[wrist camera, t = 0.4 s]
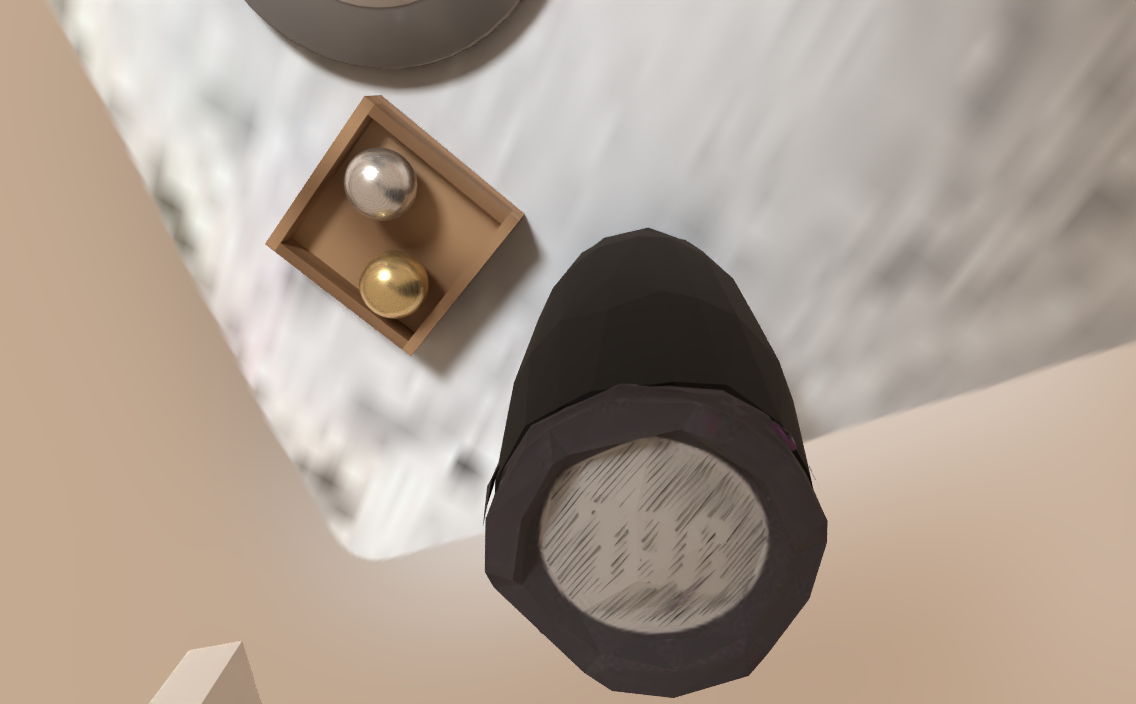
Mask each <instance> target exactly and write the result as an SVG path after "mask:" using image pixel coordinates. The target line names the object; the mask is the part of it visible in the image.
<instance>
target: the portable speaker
mask: <svg viewBox="0 0 1136 704" xmlns="http://www.w3.org/2000/svg"><path fill="white" fill-rule="evenodd" d="M495 479H496V480H495ZM494 482H495V495H494V498H493V501H492V503H491V506H490V509H489V512H488V514H487V517H486V528H485V573H486V575H487V576H488V578H489V580H490V582H491V583H492V585H493V587H494V588H495V589H496V590H497V591H498V592H499V593H500V594H501V595H502V596H504V597H505V598H506V599H507V600H508V601H509V602H510V603H511V604H512V605H513V606H514V607H515V608H517V610H518V611H519V612H521V613H522V614H523V615H524V616H525V617H526V618H527V619H528V620H529V621H530V622H531V623H532V624H533V625H534V626H535V627H536V628H538V630H539V631H540V632H541V633H542V634H544V635H545V636H546V637H547V638H548V639H549V640H550V641H551V642H552V643H553V644H554V645H555V646H556V647H558V648H559V649H560V650H561V651H562V652H563V653H564V654H565V655H566V656H567V657H568V658H569V659H570V660H571V661H572V662H573V663H574V664H575V665H577V666H578V667H579V668H580V669H581V670H582V671H583V672H584V673H586V674H587V675H589V676H590V677H592V678H593V679H595V680H596V681H598V682H599V683H601V684H602V685H604V686H606V687H607V688H609V689H610V690H612V691H618V692H626V693H635V694H643V695H652V696H661V697H670V698H675V697H678V696H682V695H685V694H689V693H692V692H695V691H699V690H702V689H705V688H709V687H712V686H716V685H719V684H722V683H726V682H729V681H733V680H736V679H739V678H743V677H746V676H749V675H750V674H751V672H752V671H753V670H754V669H755V668H756V667H757V666H758V664H759V663H760V662H761V661H762V660H763V659H764V657H765V656H766V655H767V654H768V653H769V651H770V650H771V649H772V647H773V646H774V645H775V643H776V642H777V641H778V639H779V638H780V637H781V635H782V634H783V633H784V631H785V630H786V629H787V628H788V626H789V625H790V624H791V622H792V621H793V619H794V618H795V617H796V616H797V614H798V613H799V611H800V610H801V609H802V608H803V606H804V605H805V604H806V602H807V601H808V600H809V598H810V595H811V591H812V588H813V585H814V582H815V579H816V575H817V572H818V569H819V566H820V563H821V560H822V556H823V553H824V550H825V547H826V543H827V519H826V517H825V515H824V512H823V510H822V508H821V506H820V503H819V501H818V499H817V497H816V495H815V492H814V490H813V486H812V481H811V477H810V472H809V467H808V463H807V459H806V454H805V450H804V446H803V441H802V437H801V433H800V428H799V424H798V420H797V415H796V411H795V407H794V402H793V399H792V396H791V394H790V391H789V388H788V385H787V382H786V380H785V377H784V374H783V371H782V368H781V365H780V363H779V360H778V358H777V357H776V355H775V353H774V351H773V349H772V347H771V346H770V344H769V342H768V340H767V338H766V336H765V335H764V333H763V331H762V329H761V327H760V325H759V324H758V322H757V320H756V318H755V316H754V315H753V313H752V311H751V309H750V307H749V306H748V304H747V302H746V300H745V299H744V297H743V295H742V293H741V292H740V290H739V288H738V286H737V285H736V283H735V281H734V279H733V278H732V277H731V276H730V275H728V274H727V273H726V272H725V271H724V270H723V269H722V268H721V267H719V266H718V265H717V264H716V263H715V262H714V261H713V260H712V259H710V258H709V257H708V256H707V255H706V254H705V253H704V252H703V251H701V250H700V249H698V248H697V247H695V246H694V245H692V244H691V243H689V242H688V241H686V240H682V239H678V238H676V237H673V236H670V235H667V234H664V233H662V232H659V231H656V230H653V229H650V228H645V229H641V230H636V231H632V232H628V233H623V234H619V235H615V236H611V237H606V238H604V239H602V240H601V241H600V242H598V243H597V244H596V245H594V246H593V247H591V248H589V249H588V250H586V251H584V252H582V253H581V255H580V256H579V257H578V258H577V260H576V261H575V262H574V263H573V264H572V266H571V267H570V268H569V269H568V270H567V272H566V273H565V274H564V275H563V277H562V278H561V279H560V280H559V281H558V283H557V284H556V285H555V286H554V288H553V289H552V291H551V293H550V295H549V298H548V300H547V302H546V304H545V306H544V308H543V311H542V313H541V315H540V317H539V320H538V322H537V325H536V327H535V330H534V332H533V335H532V338H531V340H530V343H529V345H528V348H527V351H526V353H525V356H524V358H523V361H522V363H521V366H520V369H519V371H518V374H517V376H516V379H515V381H514V386H513V391H512V396H511V401H510V406H509V411H508V416H507V421H506V426H505V432H504V437H503V442H502V448H501V453H500V458H499V463H498V465H497V467H496V469H495V472H494V474H493V476H492V479H491V480H490V482H489V484H488V486H487V494H486V503H485V512H484V519H485V514H486V509H487V505H488V501H489V498H490V495H491V492H492V489H493V486H494ZM483 524H484V521H483Z"/></svg>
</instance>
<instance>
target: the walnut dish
mask: <svg viewBox="0 0 1136 704" xmlns="http://www.w3.org/2000/svg"><path fill="white" fill-rule="evenodd" d="M370 148H387V149H391V150H393V151H396V152H397V153H399V154H401V155H402V156H403V157H405V158H406V159H407V160H408V162H409V163H410V164H411V166H412V167H413V169H414V171H415V174H416V177H417V184H418V189H417V195H416V198H415V200H414V203H413V204H412V206H411V207H410V208H409V210H408V211H407V212H405V213H404V214H403V215H401V216H400V217H398V218H395V219H392V220H387V221H379V220H373V219H370V218H367V217H365V216H364V215H362V214H360V213H359V212H358V211H357V210H356V209H355V208H354V207H353V206H352V205H351V203H350V202H349V200H348V198H347V196H346V193H345V189H344V176H345V172H346V169H347V167H348V165H349V163H350V162H351V161H352V159H353V158H354V157H355V156H356V155H358V154H359V153H361V152H363V151H365V150H367V149H370ZM523 215H524V213H523V212H522V211H520V210H519V209H518V208H517V207H515V206H514V205H513V204H512V203H511V202H509V201H508V200H507V199H506V198H505V197H503V196H502V195H501V194H500V193H499V192H497V191H496V190H495V189H494V188H493V187H491V186H490V185H489V184H488V183H487V182H485V181H484V180H483V179H482V178H481V177H479V176H478V175H477V174H476V173H475V172H473V171H472V170H471V169H470V168H468V167H467V166H466V165H465V164H464V163H462V162H461V161H460V160H459V159H458V158H456V157H455V156H454V155H453V154H452V153H450V152H449V151H448V150H447V149H446V148H444V147H443V146H442V145H441V144H440V143H438V142H437V141H436V140H435V139H434V138H432V137H431V136H430V135H429V134H427V133H426V132H425V131H424V130H423V129H421V128H420V127H419V126H418V125H417V124H415V123H414V122H413V121H412V120H411V119H409V118H408V117H407V116H406V115H405V114H403V113H402V112H401V111H400V110H399V109H397V108H396V107H395V106H394V105H393V104H391V103H390V102H389V101H388V100H386V99H385V98H384V97H383V96H382V95H376V96H364V98H363V99H362V101H361V102H360V104H359V105H358V107H357V108H356V109H355V111H354V112H353V114H352V115H351V117H350V118H349V120H348V121H347V123H346V124H345V126H344V127H343V129H342V130H341V132H340V133H339V135H338V136H337V138H336V139H335V141H334V142H333V144H332V145H331V147H330V148H329V150H328V151H327V153H326V154H325V156H324V157H323V159H322V160H321V162H320V163H319V165H318V166H317V168H316V169H315V170H314V172H313V173H312V175H311V176H310V178H309V179H308V181H307V182H306V184H305V185H304V187H303V188H302V190H301V191H300V193H299V194H298V196H297V197H296V199H295V200H294V202H293V203H292V205H291V206H290V208H289V209H288V211H287V212H286V214H285V215H284V217H283V218H282V220H281V221H280V223H279V224H278V226H277V227H276V229H275V230H274V232H273V233H272V234H271V236H270V237H269V239H268V240H267V242H266V243H265V244H266V245H267V246H268V247H269V248H271V249H272V250H273V251H275V252H276V253H277V254H279V255H280V256H281V257H283V258H284V259H285V260H286V261H288V262H289V263H290V264H292V265H293V266H294V267H296V268H297V269H298V270H299V271H301V272H302V273H303V274H305V275H306V276H307V277H309V278H310V279H311V280H313V281H314V282H315V283H316V284H318V285H319V286H320V287H322V288H323V289H324V290H326V291H327V292H328V293H329V294H331V295H332V296H333V297H335V298H336V299H337V300H339V301H340V302H341V303H343V304H344V305H345V306H346V307H348V308H349V309H350V310H352V311H353V312H354V313H356V314H357V315H358V316H359V317H361V318H362V319H363V320H365V321H366V322H367V323H369V324H370V325H371V326H373V327H374V328H375V329H376V330H378V331H379V332H380V333H382V334H383V335H384V336H386V337H387V338H388V339H389V340H391V341H392V342H393V343H395V344H396V345H397V346H399V347H400V348H401V349H403V350H404V351H405V352H406V353H408V354H409V355H410V356H411V355H412V354H413V353H414V351H415V350H416V349H417V348H418V346H419V345H420V344H421V343H422V341H423V340H424V339H425V338H426V336H427V335H428V334H429V333H430V331H431V330H432V329H433V328H434V326H435V325H436V324H437V323H438V321H439V320H440V319H441V318H442V316H443V315H444V314H445V313H446V311H447V310H448V309H449V308H450V306H451V305H452V304H453V303H454V301H455V300H456V299H457V298H458V296H459V295H460V294H461V293H462V291H463V290H464V289H465V288H466V286H467V285H468V284H469V283H470V281H471V280H472V279H473V278H474V276H475V275H476V274H477V273H478V271H479V270H480V269H481V268H482V266H483V265H484V264H485V263H486V262H487V260H488V259H489V258H490V257H491V255H492V254H493V253H494V252H495V250H496V249H497V248H498V247H499V245H500V244H501V243H502V242H503V240H504V239H505V238H506V237H507V235H508V234H509V233H510V232H511V230H512V229H513V228H514V227H515V225H516V224H517V223H518V222H519V220H520V219H521V218H522V217H523ZM388 250H399V251H403V252H406V253H409V254H410V255H412V256H414V257H415V258H416V259H417V260H419V261H420V263H421V264H422V265H423V267H424V268H425V270H426V273H427V275H428V279H429V290H428V295H427V298H426V300H425V302H424V303H423V305H422V306H421V307H420V308H419V309H418V310H417V311H416V312H414V313H413V314H411V315H409V316H407V317H403V318H397V319H393V318H386V317H383V316H380V315H378V314H376V313H375V312H373V311H372V310H371V309H370V308H369V307H368V306H367V305H366V304H365V302H364V301H363V299H362V297H361V294H360V290H359V277H360V273H361V271H362V268H363V267H364V265H365V264H366V262H367V261H368V260H369V259H370V258H371V257H373V256H374V255H376V254H378V253H380V252H383V251H388Z"/></svg>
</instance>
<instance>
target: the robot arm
mask: <svg viewBox="0 0 1136 704" xmlns="http://www.w3.org/2000/svg"><path fill="white" fill-rule="evenodd" d="M149 704H261V701H260V698H259V694H258V691H257V688H256V684H255V681H254V678H253V674H252V671H251V668H250V665H249V661H248V658H247V655H246V652H245V648H244V645H243V642H242V641H238V642H232V643H227V644H221V645H215V646H210V647H205V648H199V649H193V650H189V651H188V652H187V653H186V655H185V656H184V657H183V659H182V660H181V661H180V663H179V664H178V666H177V667H176V668H175V669H174V671H173V672H172V673H171V675H170V676H169V677H168V679H167V680H166V681H165V683H164V684H163V685H162V687H161V688H160V689H159V691H158V692H157V693H156V695H155V696H154V697H153V699H152V700H151V701H150V703H149Z"/></svg>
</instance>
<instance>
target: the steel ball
mask: <svg viewBox="0 0 1136 704" xmlns="http://www.w3.org/2000/svg"><path fill="white" fill-rule="evenodd" d="M344 189H345V193H346V196H347V198H348V200H349V202H350V203H351V205H352V206H353V207H354V208H355V209H356V210H357V211H358V212H359V213H360V214H362V215H364V216H365V217H367V218H370V219H373V220H379V221H387V220H392V219H395V218H398V217H400V216H401V215H403V214H404V213H405V212H407V211H408V210H409V208H410V207H411V206H412V204H413V203H414V200H415V198H416V195H417V189H418V184H417V177H416V174H415V171H414V169H413V167H412V166H411V164H410V163H409V162H408V160H407V159H406V158H405V157H403V156H402V155H401V154H399V153H397V152H396V151H393V150H391V149H387V148H370V149H367V150H365V151H363V152H361V153H359V154H358V155H356V156H355V157H354V158H353V159H352V161H351V162H350V163H349V165H348V167H347V169H346V172H345V176H344Z"/></svg>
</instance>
